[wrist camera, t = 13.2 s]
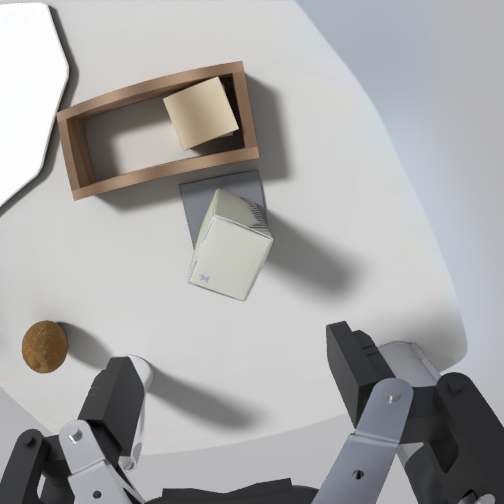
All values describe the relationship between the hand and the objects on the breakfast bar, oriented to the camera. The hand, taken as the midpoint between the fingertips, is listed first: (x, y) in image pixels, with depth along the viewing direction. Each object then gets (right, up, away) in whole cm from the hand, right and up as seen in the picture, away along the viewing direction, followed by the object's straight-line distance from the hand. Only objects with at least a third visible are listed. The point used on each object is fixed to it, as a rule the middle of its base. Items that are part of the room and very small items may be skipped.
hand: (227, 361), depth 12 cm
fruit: (-26, -6, +24) cm, 36 cm away
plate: (-33, +23, +13) cm, 42 cm away
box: (-2, +8, +20) cm, 22 cm away
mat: (-2, +8, +21) cm, 22 cm away
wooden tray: (-8, +16, +17) cm, 25 cm away
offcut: (-4, +17, +15) cm, 23 cm away
